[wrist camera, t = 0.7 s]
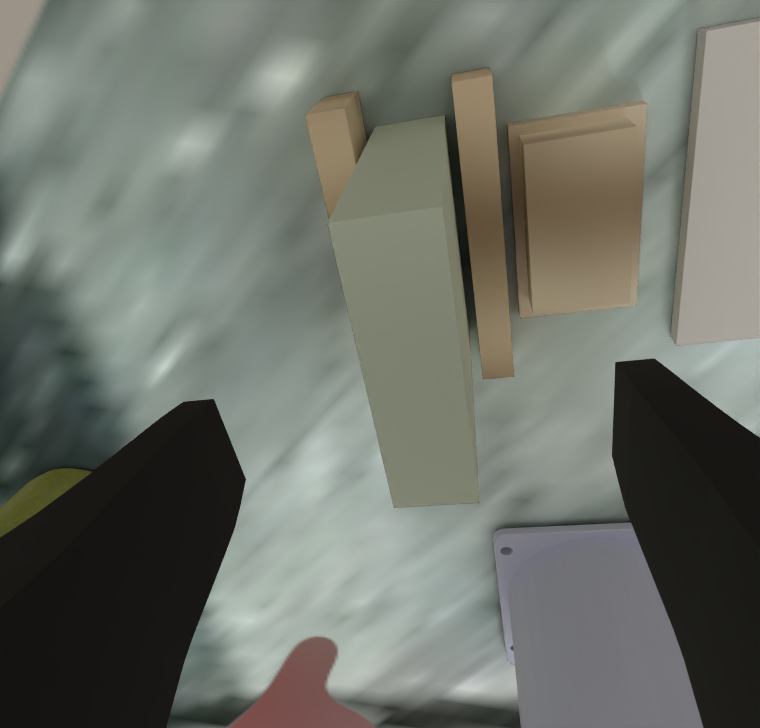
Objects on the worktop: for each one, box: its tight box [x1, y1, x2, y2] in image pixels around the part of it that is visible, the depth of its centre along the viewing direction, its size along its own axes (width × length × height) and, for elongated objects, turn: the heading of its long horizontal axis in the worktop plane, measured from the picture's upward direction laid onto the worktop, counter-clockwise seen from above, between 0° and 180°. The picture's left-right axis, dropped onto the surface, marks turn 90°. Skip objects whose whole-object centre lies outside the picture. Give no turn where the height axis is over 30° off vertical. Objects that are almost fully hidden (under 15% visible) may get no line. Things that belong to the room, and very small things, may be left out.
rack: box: [305, 68, 514, 379], centre depth 18 cm, size 9×5×2 cm, turn 10°
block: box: [328, 115, 479, 508], centre depth 15 cm, size 7×2×8 cm, turn 10°
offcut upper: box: [519, 118, 637, 314], centre depth 17 cm, size 5×3×1 cm, turn 11°
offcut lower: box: [507, 101, 647, 318], centre depth 18 cm, size 6×4×1 cm, turn 10°
